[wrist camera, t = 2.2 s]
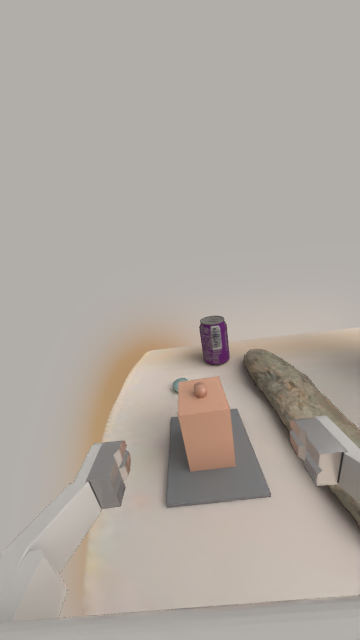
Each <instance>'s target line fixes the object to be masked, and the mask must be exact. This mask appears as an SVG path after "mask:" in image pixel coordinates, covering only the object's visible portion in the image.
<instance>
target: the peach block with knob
mask: <svg viewBox="0 0 360 640" xmlns="http://www.w3.org/2000/svg"><path fill="white" fill-rule="evenodd" d="M178 417H179V422H180V426H181V431H182V436H183V440H184V445H185V449H186V454H187V458H188V463H189V468H190V472H193V471H202V470H211V469H219V468H228V467H236V463H235V453H234V443H233V433H232V423H231V413H230V407H229V404H228V402H227V399H226V396H225V393H224V390H223V387H222V385H221V382H220V379H219V376H218V377H211V378H204V379H197V380H190V381H183V382H179V388H178Z"/></svg>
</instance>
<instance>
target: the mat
mask: <svg viewBox="0 0 360 640" xmlns="http://www.w3.org/2000/svg"><path fill="white" fill-rule="evenodd" d="M230 413H231V423H232V433H233V443H234V453H235V463H236V467H228V468H219V469H211V470H202V471H193V472H190V468H189V463H188V458H187V454H186V449H185V445H184V440H183V436H182V431H181V426H180V422H179V417H171V433H170V450H169V468H168V486H167V504H166V505H167V508H168V507H177V506H187V505H196V504H206V503H215V502H225V501H234V500H243V499H253V498H262V497H271V493H270V490H269V488H268V485H267V483H266V480H265V478H264V475H263V473H262V470H261V468H260V465H259V463H258V460H257V458H256V455H255V453H254V450H253V448H252V445H251V443H250V440H249V438H248V435H247V433H246V430H245V428H244V425H243V423H242V420H241V418H240V415H239V413H238V410H237V409H231V410H230Z"/></svg>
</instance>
